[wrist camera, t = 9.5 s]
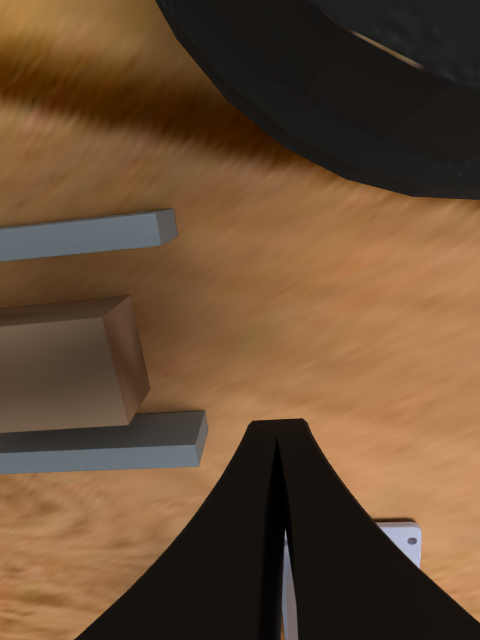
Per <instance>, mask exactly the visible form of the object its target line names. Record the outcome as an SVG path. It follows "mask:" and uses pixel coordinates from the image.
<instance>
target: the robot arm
mask: <svg viewBox="0 0 480 640" xmlns="http://www.w3.org/2000/svg"><path fill="white" fill-rule="evenodd" d="M412 537H413V538H412ZM409 538H410V539H409ZM421 539H422V532H421V529H420V526H419V525H418V524H417V523H415V522H377V523H375V522H374V520H373V519H372V518H371V517H370V516H369V515H368V513H367V512H366V511H365V510H364V509H363V508H362V506H361V505H360V504H359V503H358V501H357V500H356V499H355V498H354V496H353V495H352V494H351V492H350V491H349V490H348V489H347V487H346V486H345V485H344V483H343V482H342V481H341V479H340V478H339V476H338V475H337V473H336V472H335V470H334V469H333V468H332V466H331V465H330V463H329V462H328V460H327V459H326V457H325V456H324V454H323V452H322V451H321V449H320V447H319V446H318V444H317V442H316V440H315V439H314V437H313V435H312V433H311V431H310V428H309V426H308V423H307V422H306V421H305V420H304V419H303V418H299V419H279V420H259V421H252V422H251V423H250V424H249V425H248V427H247V430H246V432H245V434H244V436H243V438H242V441H241V442H240V444H239V446H238V448H237V450H236V452H235V454H234V456H233V457H232V459H231V461H230V462H229V464H228V466H227V467H226V469H225V471H224V473H223V474H222V476H221V478H220V479H219V481H218V482H217V484H216V485H215V487H214V488H213V490H212V491H211V492H210V494H209V495H208V497H207V498H206V500H205V501H204V503H203V504H202V505H201V507H200V508H199V510H198V511H197V512H196V514H195V515H194V516H193V518H192V519H191V520H190V522H189V523H188V524H187V525H186V527H185V528H184V529H183V530H182V532H181V533H180V534H179V535H178V536H177V538H176V539H175V540H174V541H173V542H172V543H171V545H170V546H169V547H168V548H167V549H166V550H165V551H164V553H163V554H162V555H161V556H160V557H159V558H158V559H157V560H156V561H155V562H154V563H153V565H152V566H151V567H150V568H149V569H148V570H147V571H146V572H145V573H144V574H143V575H142V576H141V577H140V578H139V579H138V580H137V581H136V582H135V584H134V585H133V586H132V587H131V588H130V589H129V590H128V591H127V592H126V593H124V594H123V595H122V596H121V597H120V598H119V599H118V600H117V601H116V602H115V603H114V604H113V605H112V606H110V607H109V608H108V609H107V610H106V611H105V612H104V613H103V614H102V615H101V616H100V617H99V618H97V619H96V620H95V621H94V622H93V623H92V624H91V625H90V626H89V627H88V628H87V629H86V630H85V631H83V632H82V633H81V634H80V635H79V636H78V637H77V638H75V639H74V640H281V613H283V623H284V633H285V639H286V640H480V623H479V622H478V621H477V620H476V619H474V618H473V617H472V616H471V615H470V614H469V613H468V612H467V611H466V610H465V609H463V608H462V607H461V606H460V605H459V604H458V603H457V602H456V601H455V600H453V599H452V598H451V597H450V596H449V595H448V594H447V593H446V592H445V591H443V590H442V589H441V588H440V587H439V586H438V585H437V584H436V583H435V582H433V581H432V580H431V579H430V578H429V577H428V576H427V575H426V574H425V573H424V572H422V571H421V570H420V557H421Z"/></svg>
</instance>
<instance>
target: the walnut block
mask: <svg viewBox="0 0 480 640" xmlns="http://www.w3.org/2000/svg"><path fill="white" fill-rule="evenodd" d="M149 390H150V385H149V380H148V375H147V371H146V366H145V362H144V357H143V352H142V348H141V343H140V339H139V334H138V330H137V325H136V320H135V316H134V311H133V307H132V302H131V298H130V296H120V297H110V298H100V299H89V300H79V301H69V302H59V303H49V304H39V305H29V306H19V307H9V308H0V433H5V432H22V431H38V430H54V429H70V428H87V427H103V426H119V425H129V423H130V422H131V420H132V418H133V417H134V415H135V413H136V412H137V410H138V408H139V407H140V405H141V403H142V401H143V400H144V398H145V396H146V395H147V393H148V391H149Z"/></svg>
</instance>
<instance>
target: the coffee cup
mask: <svg viewBox="0 0 480 640" xmlns="http://www.w3.org/2000/svg"><path fill="white" fill-rule="evenodd" d="M155 1H156V3H157V4H158V6H159V8H160V10H161V12H162V13H163V15H164V17H165V19H166V21H167V22H168V24H169V26H170V28H171V30H172V31H173V33H174V35H175V37H176V39H177V40H178V41H179V42H180V43H181V45H182V46H183V47H184V48H185V50H186V51H187V52H188V53H189V54H190V56H191V57H192V58H193V59H194V60H195V62H196V63H197V64H198V65H199V67H200V68H201V69H202V70H203V71H204V73H205V74H206V75H207V76H208V77H209V79H210V80H211V81H212V82H213V84H214V85H215V86H216V87H217V88H218V90H219V91H220V92H221V93H222V94H223V96H224V97H225V98H226V99H227V101H229V102H230V103H231V104H232V105H233V106H235V107H236V108H237V109H238V110H240V111H241V112H242V113H243V114H244V115H246V116H247V117H248V118H249V119H251V120H252V121H253V122H254V123H255V124H257V125H258V126H259V127H260V128H261V129H263V130H264V131H265V132H266V133H268V134H269V135H270V136H271V137H272V138H274V139H275V140H276V141H277V142H278V143H280V144H281V145H282V146H283V147H285V148H287V149H289V150H291V151H293V152H294V153H296V154H298V155H300V156H302V157H304V158H306V159H308V160H310V161H312V162H314V163H316V164H318V165H320V166H321V167H323V168H325V169H327V170H329V171H331V172H333V173H335V174H337V175H339V176H341V177H343V178H345V179H347V180H351V181H355V182H359V183H363V184H366V185H370V186H374V187H378V188H382V189H386V190H389V191H393V192H397V193H401V194H405V195H408V196H412V197H432V198H453V199H473V200H480V0H155Z"/></svg>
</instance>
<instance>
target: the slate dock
mask: <svg viewBox="0 0 480 640" xmlns="http://www.w3.org/2000/svg"><path fill="white" fill-rule="evenodd" d="M177 236H178V234H177V228H176V222H175V215H174V209H164V210H155V211H146V212H137V213H127V214H118V215H109V216H100V217H91V218H82V219H72V220H63V221H54V222H45V223H36V224H27V225H17V226H8V227H0V262H1V261H11V260H21V259H31V258H41V257H51V256H61V255H71V254H81V253H91V252H102V251H112V250H122V249H132V248H142V247H152V246H161V245H163V244H165V243H167V242H168V241H170V240H172V239H174V238H176V237H177ZM207 433H208V427H207V420H206V414H205V411H192V412H173V413H154V414H135V415H134V417H133V418H132V420H131V422H130V423H129V425H119V426H103V427H87V428H70V429H54V430H38V431H22V432H5V433H0V474H13V473H40V472H66V471H93V470H120V469H146V468H173V467H199V464H200V460H201V456H202V452H203V448H204V445H205V441H206V437H207Z"/></svg>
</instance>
